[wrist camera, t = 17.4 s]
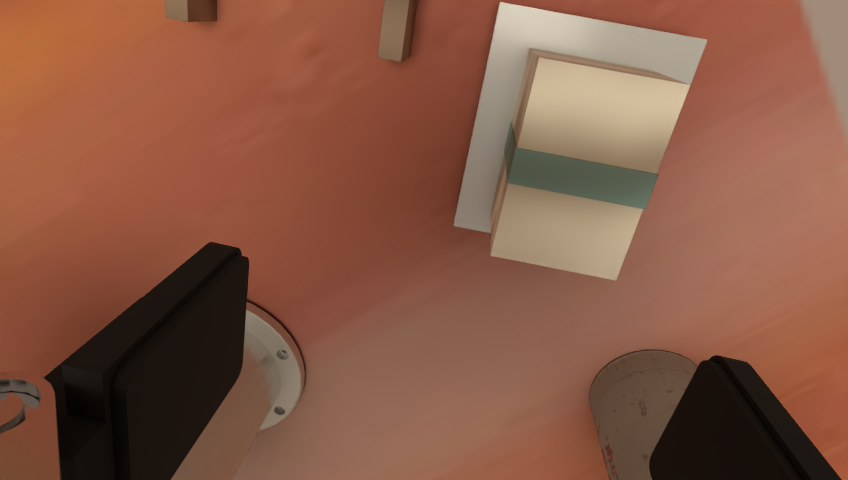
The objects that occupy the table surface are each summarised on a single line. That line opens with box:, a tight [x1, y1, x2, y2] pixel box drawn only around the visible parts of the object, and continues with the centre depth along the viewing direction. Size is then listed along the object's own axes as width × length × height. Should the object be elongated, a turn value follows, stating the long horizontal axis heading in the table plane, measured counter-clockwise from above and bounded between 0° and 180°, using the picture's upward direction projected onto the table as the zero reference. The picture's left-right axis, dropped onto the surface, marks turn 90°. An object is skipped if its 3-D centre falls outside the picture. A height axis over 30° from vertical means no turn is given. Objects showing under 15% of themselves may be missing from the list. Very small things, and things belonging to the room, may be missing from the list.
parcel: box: [490, 48, 690, 280], centre depth 24 cm, size 9×6×6 cm
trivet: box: [453, 2, 707, 233], centre depth 28 cm, size 12×10×2 cm
